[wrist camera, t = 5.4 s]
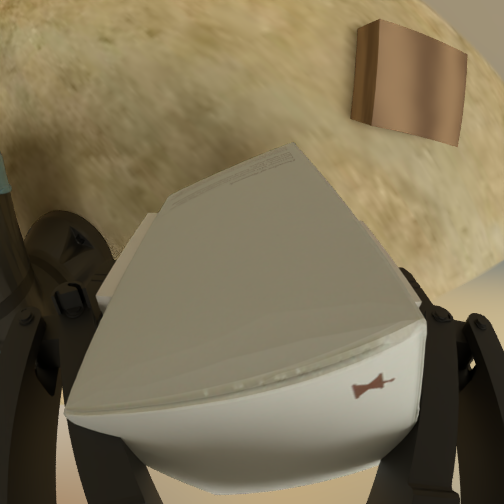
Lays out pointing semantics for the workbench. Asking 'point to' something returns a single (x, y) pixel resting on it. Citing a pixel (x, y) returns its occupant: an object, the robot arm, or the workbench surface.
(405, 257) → the workbench surface
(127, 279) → the supplement box
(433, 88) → the walnut block
